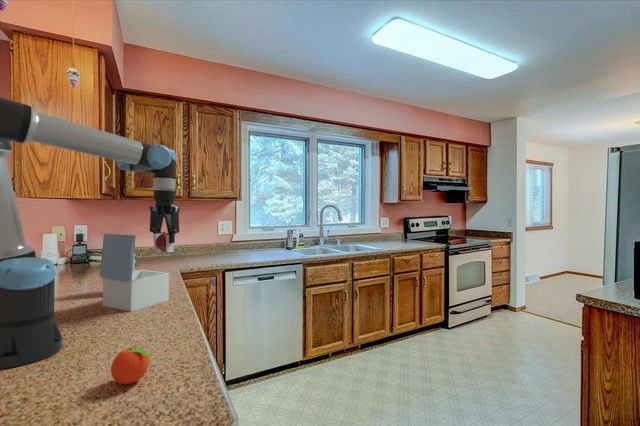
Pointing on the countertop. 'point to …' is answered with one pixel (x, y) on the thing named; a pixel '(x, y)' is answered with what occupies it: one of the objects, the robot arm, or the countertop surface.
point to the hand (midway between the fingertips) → (163, 251)
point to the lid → (117, 257)
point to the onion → (161, 242)
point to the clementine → (130, 365)
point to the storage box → (136, 290)
